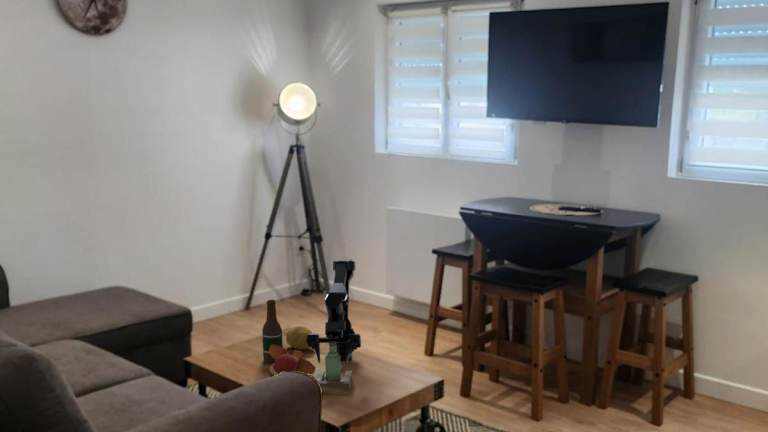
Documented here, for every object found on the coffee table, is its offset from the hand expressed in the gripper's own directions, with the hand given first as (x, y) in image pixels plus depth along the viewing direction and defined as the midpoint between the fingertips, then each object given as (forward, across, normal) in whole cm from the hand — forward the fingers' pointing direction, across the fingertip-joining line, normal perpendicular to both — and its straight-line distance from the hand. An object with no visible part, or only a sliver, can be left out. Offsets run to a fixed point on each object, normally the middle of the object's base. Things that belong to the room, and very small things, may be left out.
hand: (332, 362), depth 244 cm
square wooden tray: (+6, 0, +8) cm, 10 cm away
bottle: (+5, 0, +7) cm, 8 cm away
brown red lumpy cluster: (-4, -17, +18) cm, 25 cm away
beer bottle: (-13, -27, +26) cm, 40 cm away
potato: (-23, -19, +37) cm, 47 cm away
